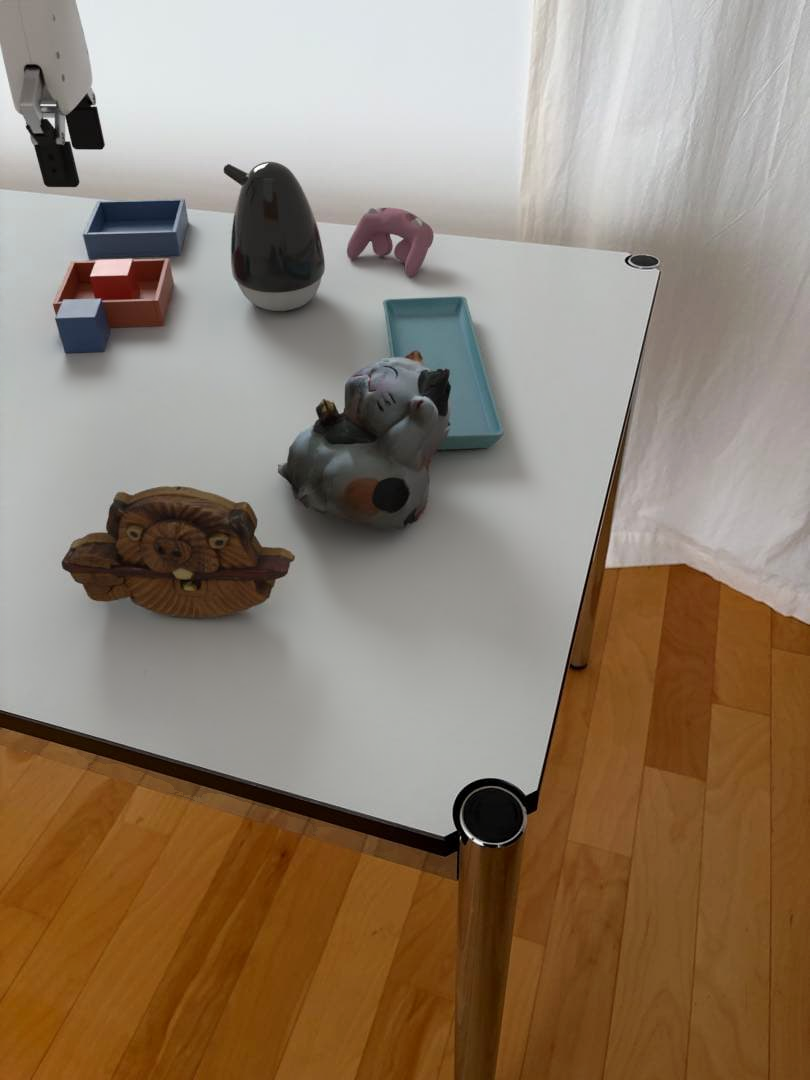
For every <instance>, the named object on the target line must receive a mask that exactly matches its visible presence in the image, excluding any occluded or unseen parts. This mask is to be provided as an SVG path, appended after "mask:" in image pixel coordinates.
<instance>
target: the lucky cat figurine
mask: <svg viewBox="0 0 810 1080" xmlns="http://www.w3.org/2000/svg"><path fill="white" fill-rule="evenodd" d="M449 375H450V370H449V369H437V370H436V371H432V370H430V369H429V368H427V367H425V366H424V365H423V359H422V356H421V353H420V352H419V351H417V350H415V351H413V352H411V353H410V354H409V355H407V356H406V357H404V358H403V357H393V358H391V357H382V358H381V359H380V360H379V361H377V362H375V363H373V364H368V365H365V366H362V367H360V368H359V369H358V370H356V371H355V372H354V373H353V374H352V375H351V376H350V377H349V378H348V379H347V381H346V383H345V385H344V408H343V411H342V412H341V413H339V410H338V408H337V406H336V404H335V403H334V401H333V400H331V399H326V398H323V399H322V400H321V401H320V402H319V403H318V405H317V406H316V407H315V412H316V416H317V418H318V419H316V421H314V424H313V425H311V426H309V427H308V428H306V429H305V430H303V431H300V432H299V433H298V435H296V438H295V439H294V441H293V442H292V443H291V444H290V446H289V448H288V454H287V458H286V462H285V463H282V464H277V473H278V475H280V476H281V477H282V478H284V479H285V480H286V482H287V483H288V484H289V485H290V486H291V489H292V492H293V495H294V499H295V500H296V501H298V502H299V503H301V504H303V505H304V507H306V508H307V509H308V508H309V509H311V510H313V511H315V512H318V513H320V514H325V515H329V516H334V517H337V518H341V519H345V520H346V519H347V520H350V521H356V522H360V523H363V524H368V525H370V526H372V527H376V528H380V529H381V528H382V529H395V530H404V529H405V528H406V527H407V525H408V524H409V525H410V524H412V523H413V522H417V521H418V519H419V518H420V516H421V515H422V514H423V513H424V511H425V510H426V507H427V505H428V502H429V500H428V498H429V492H430V481H431V479H430V473H429V472H430V471H429V469H430V464H431V462H432V459H433V457H434V455H435V453H436V452H437V451H438V450H437V449H438V448H439V446H440V445H441V444H442V442H443V441H444V440H445V439H446V437H447V435H448V433H449V430H450V427H451V424H450V422H449V417H450V413H451V405H450V402H449V395H450V391H451V385H450V384H449V381H448V379H449Z"/></svg>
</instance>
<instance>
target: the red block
mask: <svg viewBox="0 0 810 1080" xmlns="http://www.w3.org/2000/svg"><path fill="white" fill-rule="evenodd" d="M133 259H134V258H113V259H112V258H105V259H95V261H96V262H95V264H94V267H93V269H92V272H91V274H90V280H91V284H92V288H93V292H94V296H95V299H102V300H129V299H138V297H139V293H140V290H139V285H138V280H137V276H136V271H135V266H134V261H133Z"/></svg>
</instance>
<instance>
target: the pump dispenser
mask: <svg viewBox="0 0 810 1080" xmlns="http://www.w3.org/2000/svg"><path fill="white" fill-rule="evenodd" d="M223 173H224V174H225V175H226V176H227V177H229V178H230V179H232V180H233V181H234V182H235V183H237V184H238V185H240V186H241V187H240V190H239V193H238V197H237V200H236V203H235V207H234V214H233V220H232V226H231V234H230V235H231V236H230V265H231V266H230V268H231V274H232V277H233V279H234V280H235V282H237V286H238V287H239V289H240V291H241V293H242V294H243V295H244V297H245V298H246V300H247V301H249V302H250V303H251V304H253V305H254V306H256V307H259V308H261V309H264V310H267V311H272V312H286V311H291V310H295V309H298V308H301V307H302V306H304V305H305V304H307V303H308V302H310V301H311V300H312V299H313V298H314V296H315V295H316V293H317V292H318V290H319V288H320V285H321V282H322V279H323V276H324V274H325V271H326V261H325V254H324V248H323V244H322V243H323V242H322V239H321V234H320V230H319V226H318V223H317V220H316V217H315V214H314V212H313V208H312V206H311V204H310V201H309V199H308V197H307V194H306V192H305V191H304V189H303V186H302V185H301V184H300V181H299V179H298V178H297V177H296V175H295V174H294V173H293V172H292V171H291V169H290V168H288V167H287V166H286V165H284V164H282V163H279V162H276V161H263V162H260V163H258V164H257V165H254V166H253V167H252V168H251V169H250V170H249V172H246V171H245V170H242V169H240V168H238V167H236V166H234V165H232V164H230V163H226V164H224V167H223Z"/></svg>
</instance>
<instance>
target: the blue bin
mask: <svg viewBox="0 0 810 1080" xmlns="http://www.w3.org/2000/svg"><path fill="white" fill-rule="evenodd" d="M187 210H188V209H187V204H186V200H185V198H164V199H162V198H161V199H159V198H157V199H123V200H122V199H121V200H119V199H118V200H96V203H95V206H94V208H93V210H92V213H91V215H90V217H89V219H88V221H87V223H86V226H85V228H84V231H83V233H82V237H83V241H84V245H85V249H86V253H87V258H88V259H112V258H142V257H144V258H145V257H178V256H179V257H180V256H181V254H182V250H183V245H184V241H185V236H186V232H187V229H188V224H189V217H188V211H187Z"/></svg>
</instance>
